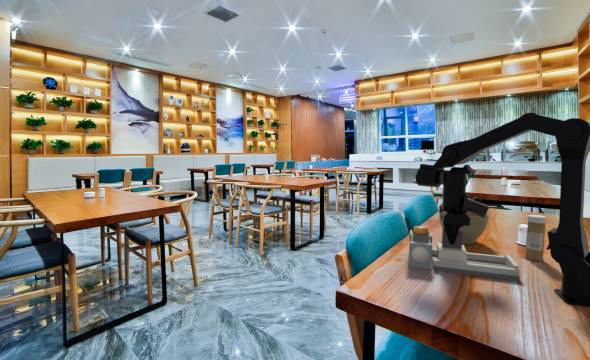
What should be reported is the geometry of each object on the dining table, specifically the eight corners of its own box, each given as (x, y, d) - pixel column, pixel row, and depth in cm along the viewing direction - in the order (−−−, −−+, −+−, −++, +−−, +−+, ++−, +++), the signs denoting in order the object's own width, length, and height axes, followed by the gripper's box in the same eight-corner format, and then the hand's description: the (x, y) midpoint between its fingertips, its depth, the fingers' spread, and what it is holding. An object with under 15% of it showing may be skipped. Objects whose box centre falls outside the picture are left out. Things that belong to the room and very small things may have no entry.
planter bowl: (472, 250, 104) (474, 218, 103) (428, 238, 117) (429, 210, 116) (495, 242, 112) (497, 212, 111) (452, 232, 126) (453, 206, 125)
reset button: (428, 236, 90) (428, 229, 90) (413, 235, 91) (413, 228, 91) (427, 233, 93) (428, 226, 93) (413, 232, 95) (413, 225, 95)
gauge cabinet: (431, 270, 86) (432, 239, 85) (408, 267, 88) (409, 237, 87) (429, 256, 98) (431, 229, 97) (409, 253, 100) (410, 227, 99)
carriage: (466, 266, 85) (468, 234, 85) (438, 262, 88) (439, 231, 87) (462, 258, 92) (464, 228, 91) (436, 255, 94) (438, 226, 94)
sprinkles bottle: (545, 259, 95) (549, 216, 93) (539, 262, 92) (543, 217, 91) (528, 255, 98) (531, 213, 97) (521, 258, 96) (525, 215, 95)
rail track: (519, 281, 79) (520, 268, 79) (433, 269, 86) (434, 258, 86) (506, 264, 90) (507, 253, 90) (431, 256, 97) (432, 245, 97)
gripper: (495, 194, 76) (491, 256, 78) (480, 186, 94) (477, 237, 95) (444, 192, 80) (442, 251, 82) (440, 185, 98) (437, 233, 99)
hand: (451, 242), depth 89 cm, fingers closed on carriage, 2 cm apart
